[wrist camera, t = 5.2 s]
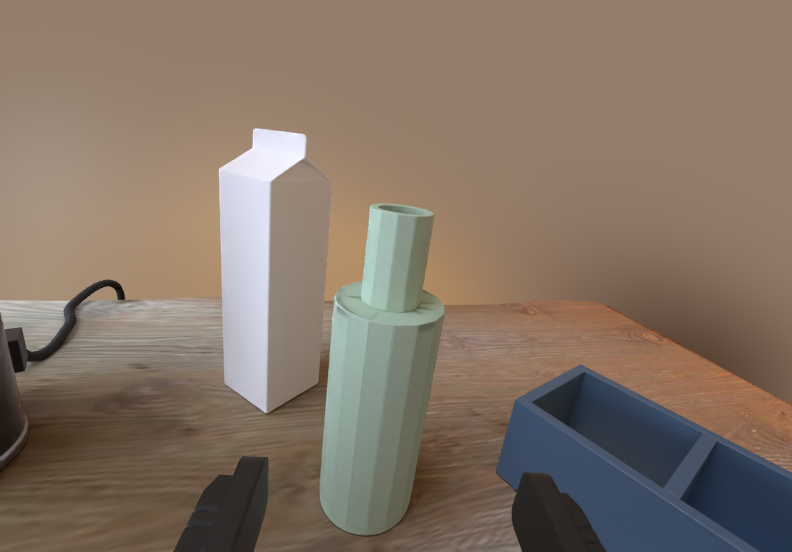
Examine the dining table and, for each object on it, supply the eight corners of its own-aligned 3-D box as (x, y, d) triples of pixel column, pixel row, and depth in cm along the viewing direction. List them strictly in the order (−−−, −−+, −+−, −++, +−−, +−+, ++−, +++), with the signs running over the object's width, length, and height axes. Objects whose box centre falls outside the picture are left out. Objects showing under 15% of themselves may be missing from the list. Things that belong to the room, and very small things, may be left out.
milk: (277, 359, 38) (284, 132, 31) (319, 384, 35) (337, 139, 28) (222, 385, 33) (216, 122, 26) (265, 416, 30) (271, 128, 23)
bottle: (303, 479, 25) (321, 197, 19) (375, 445, 29) (409, 199, 23) (350, 556, 21) (391, 223, 15) (427, 504, 24) (486, 221, 18)
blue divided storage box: (873, 805, 14) (979, 710, 12) (495, 472, 28) (515, 399, 26) (870, 633, 20) (942, 549, 18) (559, 426, 34) (580, 364, 32)
